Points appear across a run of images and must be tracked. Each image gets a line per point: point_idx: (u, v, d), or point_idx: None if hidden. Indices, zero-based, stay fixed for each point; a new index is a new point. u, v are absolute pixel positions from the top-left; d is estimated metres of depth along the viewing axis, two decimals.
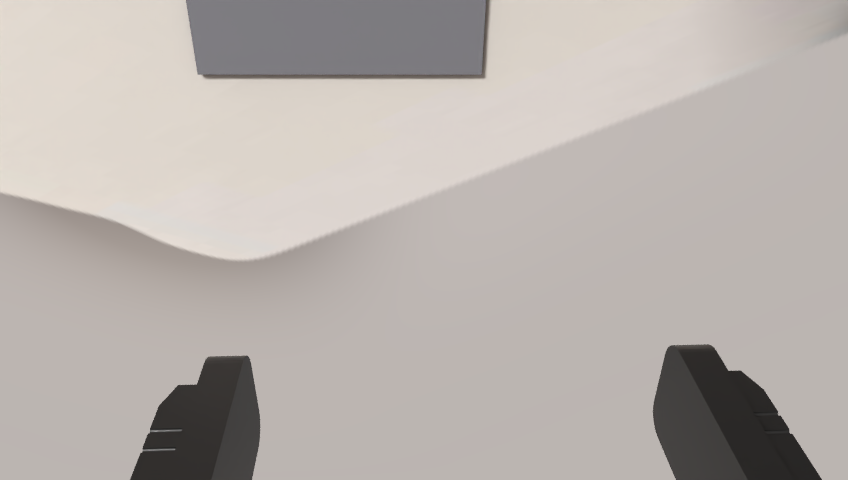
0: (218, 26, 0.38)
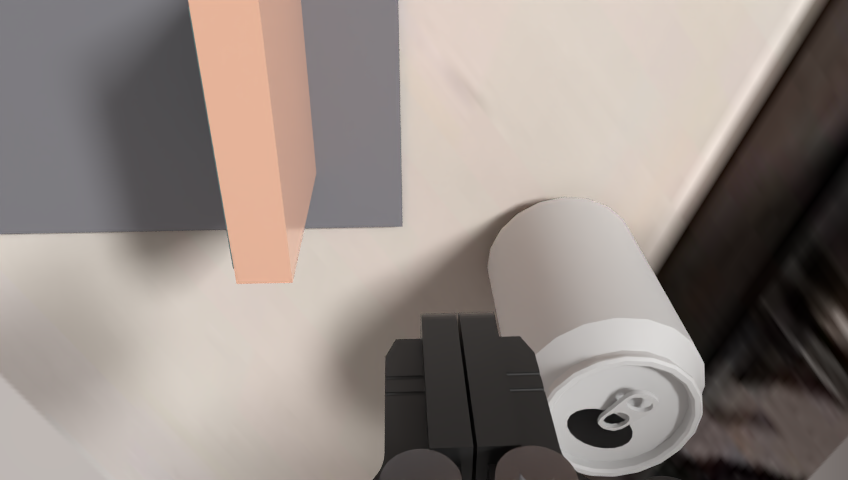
0: None
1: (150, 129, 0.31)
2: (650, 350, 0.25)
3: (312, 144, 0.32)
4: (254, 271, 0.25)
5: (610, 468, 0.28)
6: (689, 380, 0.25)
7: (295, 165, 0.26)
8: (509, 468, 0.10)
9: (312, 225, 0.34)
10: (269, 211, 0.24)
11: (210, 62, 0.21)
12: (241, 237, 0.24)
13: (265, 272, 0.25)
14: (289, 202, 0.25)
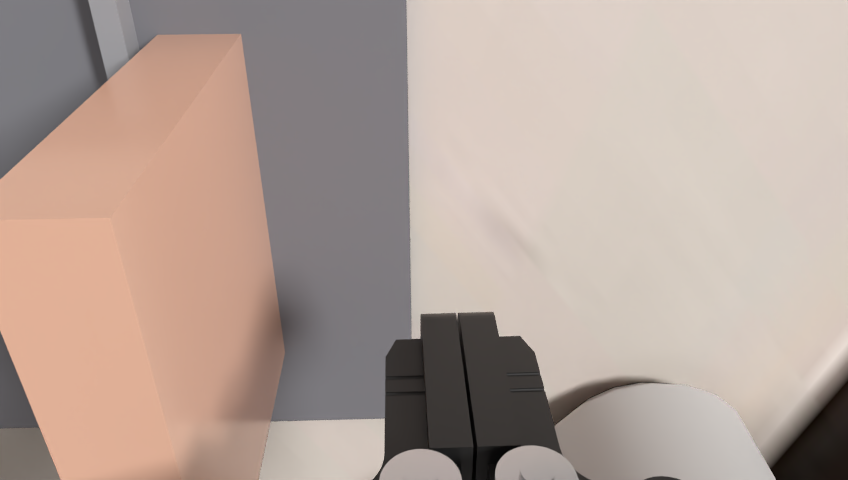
0: None
1: None
2: None
3: (277, 320, 0.21)
4: None
5: None
6: None
7: (235, 413, 0.16)
8: (509, 468, 0.10)
9: (281, 417, 0.24)
10: None
11: (26, 335, 0.10)
12: None
13: None
14: None
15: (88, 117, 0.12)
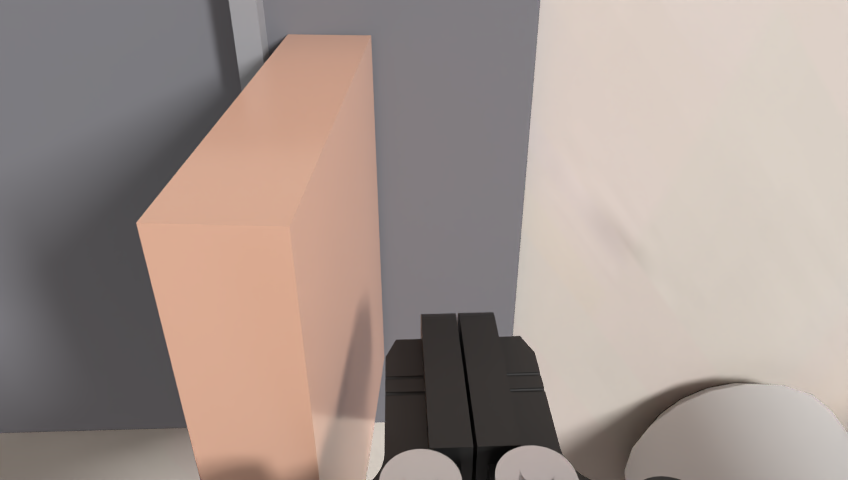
0: None
1: (135, 299, 0.21)
2: None
3: (381, 324, 0.21)
4: None
5: None
6: None
7: (354, 422, 0.15)
8: (509, 468, 0.10)
9: None
10: None
11: (189, 340, 0.10)
12: None
13: None
14: None
15: (241, 118, 0.12)
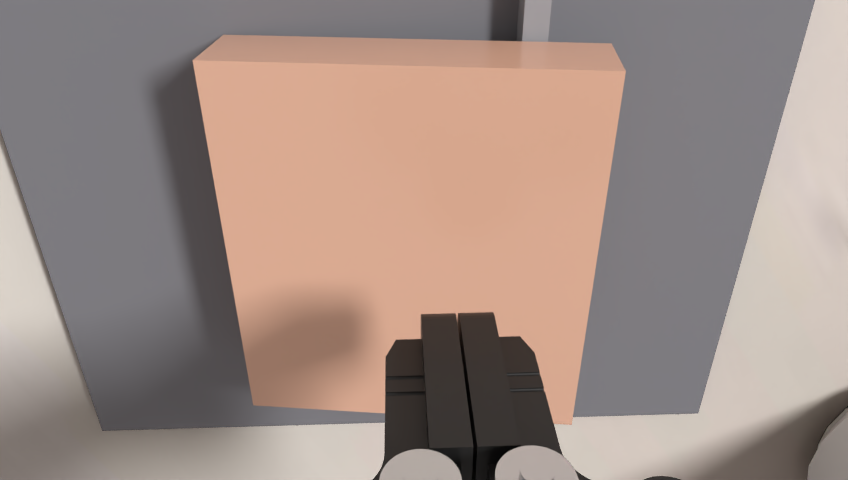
0: None
1: None
2: None
3: (560, 379, 0.18)
4: None
5: None
6: None
7: (363, 326, 0.18)
8: (509, 468, 0.10)
9: None
10: None
11: None
12: None
13: None
14: (283, 335, 0.18)
15: (373, 42, 0.16)
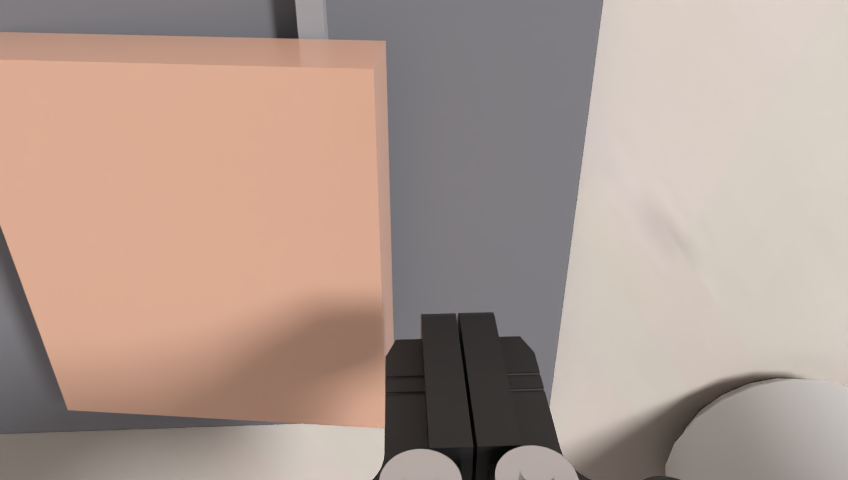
0: None
1: None
2: None
3: (367, 382, 0.18)
4: None
5: None
6: None
7: (161, 329, 0.18)
8: (509, 468, 0.10)
9: None
10: None
11: None
12: None
13: None
14: (84, 339, 0.18)
15: (143, 39, 0.16)
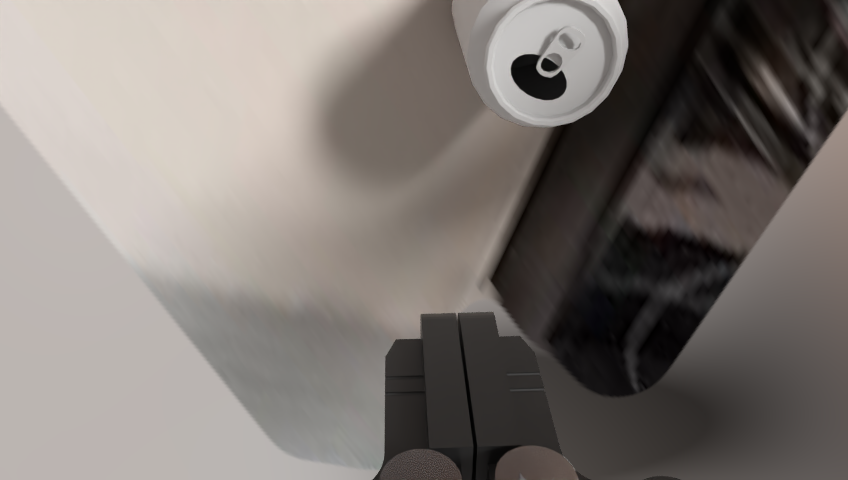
0: None
1: None
2: None
3: None
4: None
5: (549, 118, 0.33)
6: (610, 15, 0.30)
7: None
8: (509, 468, 0.10)
9: None
10: None
11: None
12: None
13: None
14: None
15: None
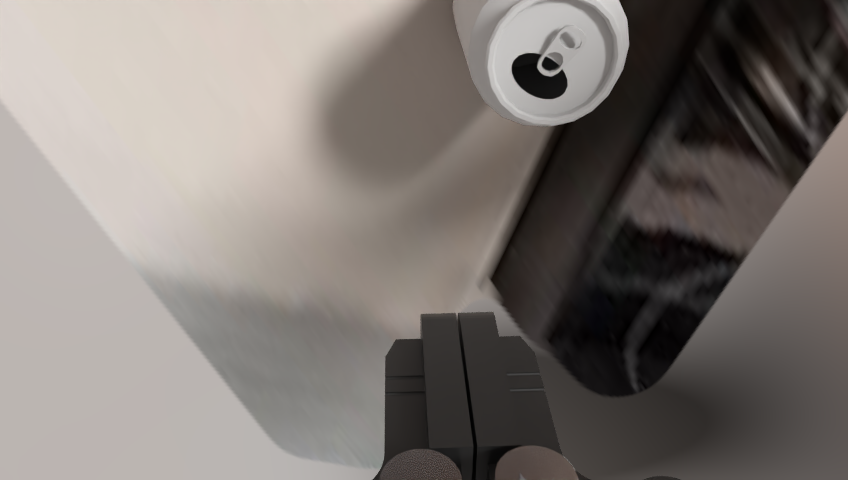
0: None
1: None
2: None
3: None
4: None
5: (549, 117, 0.33)
6: (611, 14, 0.30)
7: None
8: (509, 468, 0.10)
9: None
10: None
11: None
12: None
13: None
14: None
15: None
